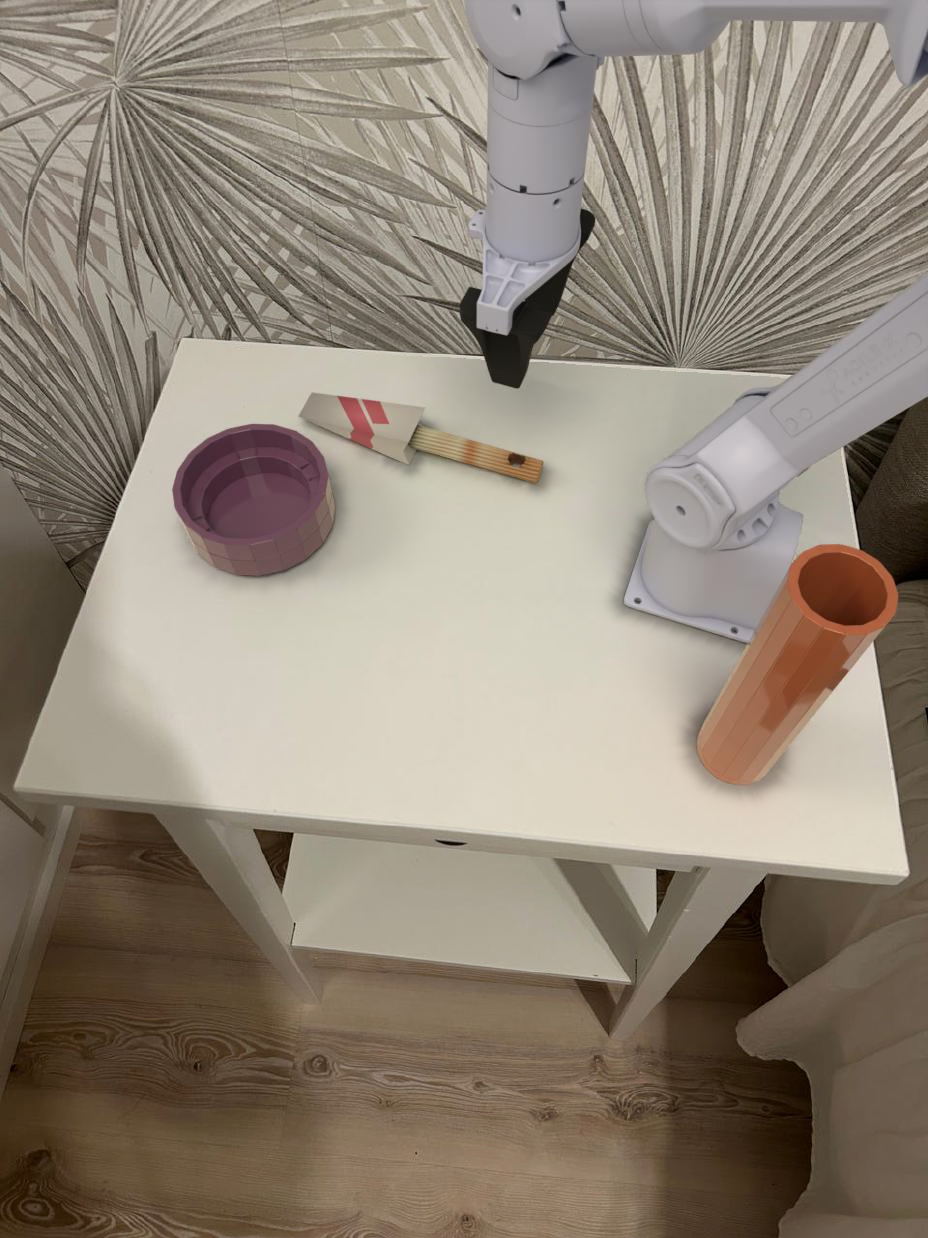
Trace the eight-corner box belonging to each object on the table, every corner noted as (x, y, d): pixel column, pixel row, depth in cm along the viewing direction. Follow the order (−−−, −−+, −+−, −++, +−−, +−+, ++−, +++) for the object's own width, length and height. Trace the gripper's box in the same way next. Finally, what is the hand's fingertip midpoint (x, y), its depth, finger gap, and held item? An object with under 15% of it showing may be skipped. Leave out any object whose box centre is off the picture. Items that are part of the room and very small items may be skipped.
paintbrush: (312, 374, 72) (549, 443, 69) (316, 398, 75) (544, 466, 72) (292, 407, 70) (534, 480, 68) (296, 431, 73) (530, 502, 70)
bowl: (359, 484, 70) (352, 446, 67) (296, 598, 65) (284, 564, 61) (233, 447, 73) (219, 407, 69) (162, 554, 67) (143, 518, 63)
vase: (779, 728, 60) (904, 561, 42) (765, 796, 57) (890, 648, 40) (706, 704, 61) (798, 531, 43) (688, 770, 58) (779, 614, 41)
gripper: (512, 84, 56) (505, 267, 68) (425, 224, 49) (434, 401, 61) (621, 106, 54) (595, 289, 66) (547, 253, 48) (532, 428, 59)
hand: (524, 344), depth 63 cm, fingers open, 7 cm apart
